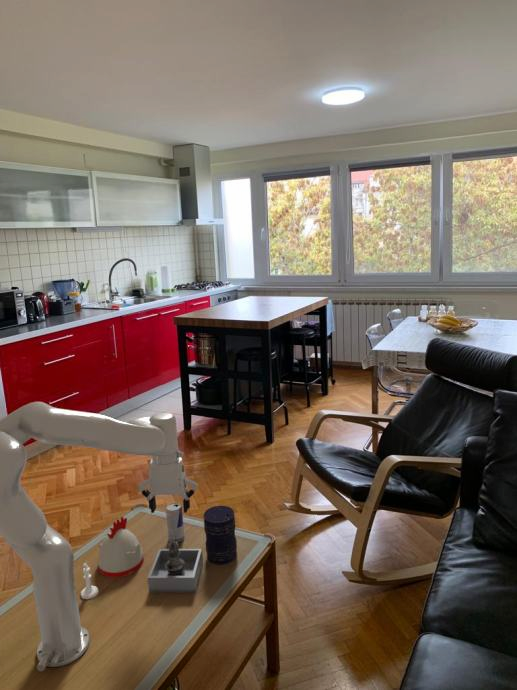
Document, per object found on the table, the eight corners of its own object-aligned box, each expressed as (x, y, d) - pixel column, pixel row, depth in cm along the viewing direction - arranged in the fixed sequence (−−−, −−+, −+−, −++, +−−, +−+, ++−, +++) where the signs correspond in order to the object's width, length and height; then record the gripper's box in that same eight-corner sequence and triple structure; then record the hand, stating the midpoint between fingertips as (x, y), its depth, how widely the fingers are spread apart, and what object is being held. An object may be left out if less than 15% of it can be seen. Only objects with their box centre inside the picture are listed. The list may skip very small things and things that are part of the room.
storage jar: (201, 562, 163) (197, 520, 160) (213, 544, 173) (210, 503, 169) (231, 567, 160) (228, 524, 157) (241, 548, 169) (239, 507, 166)
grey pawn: (187, 568, 159) (184, 533, 157) (183, 581, 154) (180, 545, 151) (169, 568, 160) (165, 533, 157) (163, 580, 154) (160, 545, 152)
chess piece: (90, 585, 155) (86, 556, 153) (101, 590, 153) (97, 560, 151) (77, 595, 151) (72, 565, 149) (88, 601, 149) (84, 570, 147)
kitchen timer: (152, 556, 168) (148, 514, 165) (123, 582, 156) (117, 537, 153) (120, 545, 175) (115, 505, 171) (89, 570, 163) (83, 527, 159)
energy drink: (187, 536, 178) (184, 504, 175) (177, 544, 173) (174, 512, 171) (175, 532, 181) (172, 501, 178) (165, 540, 176) (162, 508, 173)
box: (195, 592, 150) (194, 577, 149) (149, 592, 151) (147, 577, 150) (203, 562, 163) (201, 548, 162) (160, 563, 164) (159, 549, 163)
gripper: (197, 450, 151) (201, 503, 155) (139, 451, 153) (144, 504, 156) (192, 461, 144) (196, 517, 148) (131, 462, 145) (137, 517, 149)
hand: (170, 510), depth 152 cm, fingers open, 9 cm apart
